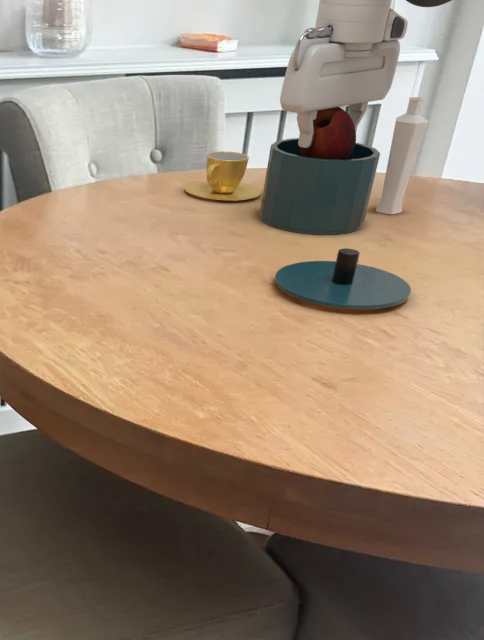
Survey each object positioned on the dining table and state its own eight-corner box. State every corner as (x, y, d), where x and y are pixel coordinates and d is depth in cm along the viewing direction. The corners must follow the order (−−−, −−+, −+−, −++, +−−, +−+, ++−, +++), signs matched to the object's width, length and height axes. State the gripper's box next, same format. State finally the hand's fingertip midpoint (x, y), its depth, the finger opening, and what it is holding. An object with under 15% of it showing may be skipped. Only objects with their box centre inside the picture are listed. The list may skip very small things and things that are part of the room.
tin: (382, 223, 127) (400, 151, 121) (320, 241, 120) (336, 165, 114) (301, 201, 136) (314, 133, 130) (239, 217, 128) (250, 145, 123)
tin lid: (434, 295, 103) (446, 256, 100) (356, 325, 96) (367, 283, 93) (325, 261, 113) (333, 224, 110) (246, 286, 105) (253, 246, 102)
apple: (283, 167, 124) (294, 103, 119) (320, 161, 127) (333, 98, 122) (322, 178, 119) (336, 112, 114) (360, 171, 123) (375, 107, 118)
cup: (210, 180, 146) (214, 144, 142) (274, 192, 140) (280, 155, 136) (169, 193, 138) (173, 156, 135) (235, 207, 132) (241, 168, 129)
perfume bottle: (404, 216, 130) (434, 102, 121) (373, 213, 131) (401, 99, 122) (404, 208, 133) (434, 97, 124) (374, 205, 134) (401, 94, 125)
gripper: (321, 31, 106) (298, 156, 114) (415, 22, 116) (388, 137, 124) (279, 26, 109) (260, 147, 118) (374, 18, 120) (350, 130, 128)
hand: (326, 142), depth 121 cm, fingers closed on apple, 8 cm apart
